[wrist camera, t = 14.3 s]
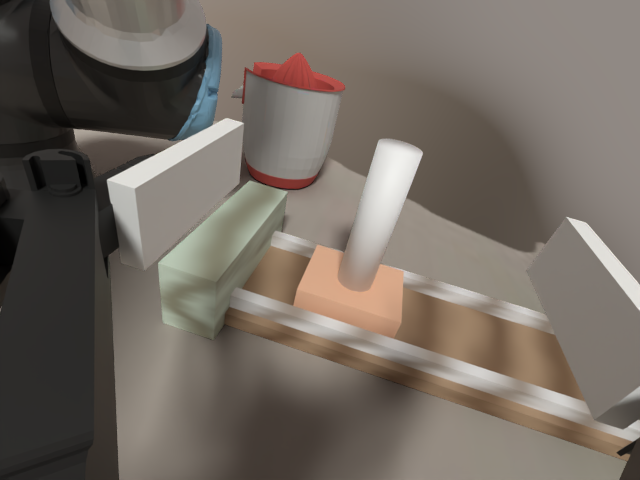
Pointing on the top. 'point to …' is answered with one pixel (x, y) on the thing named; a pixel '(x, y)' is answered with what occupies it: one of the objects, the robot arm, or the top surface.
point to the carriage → (365, 251)
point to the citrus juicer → (287, 121)
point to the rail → (371, 348)
